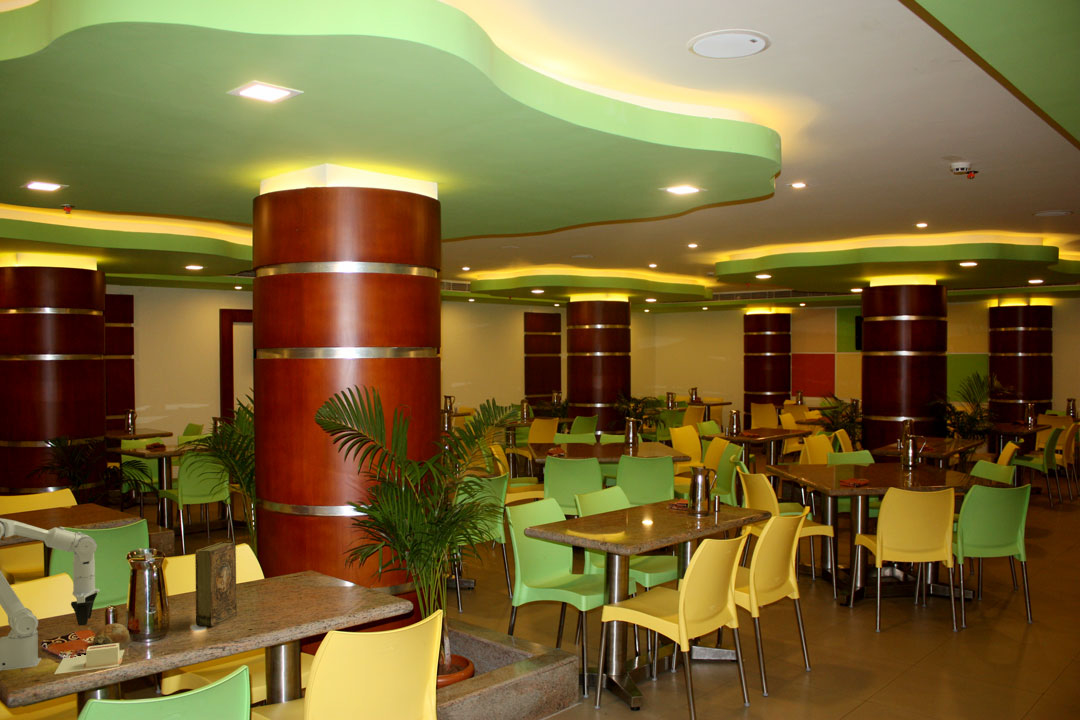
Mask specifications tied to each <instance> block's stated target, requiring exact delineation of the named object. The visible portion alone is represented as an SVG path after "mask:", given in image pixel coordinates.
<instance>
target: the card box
mask: <svg viewBox="0 0 1080 720" xmlns="http://www.w3.org/2000/svg"><path fill="white" fill-rule="evenodd" d="M119 650H120V645H119V643H114V644H106V645H98V646H95V645H91V646H88V647H87V649H86V650H85V654H86V667H93V666H101V665H109V664H116V663H118V662H119Z"/></svg>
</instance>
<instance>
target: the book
mask: <svg viewBox="0 0 1080 720" xmlns="http://www.w3.org/2000/svg"><path fill="white" fill-rule="evenodd" d="M236 546H237V542H236V541H229V540H228V541H220V542H216V543H214V544H211V545H209V546H205V547H203V548H199V549H196V551H195V554H194V555H195V556H194V559H195V562H194V563H195V570H194V571H195V624H196V627H211V628H213V627H216V626H218V625H221V624H222V623H224V622H227V621H228V620H230V619H232V618H234V617H236V616H237V615H238V614H237V613H238V612H237V611H238V610H237V608H238V607H237V562H236V561H237V549H236V548H237V547H236Z"/></svg>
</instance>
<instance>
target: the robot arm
mask: <svg viewBox="0 0 1080 720" xmlns="http://www.w3.org/2000/svg"><path fill="white" fill-rule="evenodd" d="M2 536H3V537H4V538H10V537H13V536H20V537H25V538H30V539H32V540H33V539H34V540H38V541H43V542H44V544H45V546H46V547H47V548H52V549H55V550H60V551H64V552H68V553H71V552H73V561H72V563H73V564H72V565H73V566H72V575H73V577H72V578H73V579H72V580H73V581H72V583H73V585H72V586H73V591H72V596H74V598H75V599H76V601H71V602H70V605H71V608H72V609H73V611H74V614H75V617H76V622H77V625H78V627H81V626H87V625H88V621H89V619H91V617H92V613H93V607H94V602H95V599H96V598H97V595H98V593H99V592H100V588H96V564H95V563H96V561H95V552H96V550H97V548H98V545H97V542H96V540H95V539H94V538H93V537H91V536H90V535H87V534H85V533H82V532H81V531H77V532H74V531H71V530H67V529H66V527H63V526H58V527H52V528H51V529H48V530H47V529H44V528H42V527H41V528H40V527H37V526H34V525H31V524H27V523H24V522H22V521H21V522H20V521H18V520H14V519H13V520H12V519H7V518H1V517H0V539H1V538H2ZM0 606H1V607H2V609H3V610H4V612H5V614H6V616H7V623H8V626H9V627H10V628H11V629H10V631H9V633H8V635H5V636H1V637H0V671H8V670H9V671H10V670H16V669H24V668H32V667H37V666H38V665H39V663H40V662H41V660H42V657H39V648H38V647H39V639H38V636H39V632H38V629H37V628H38V625H39V620H38V618H37V616H36V615H35V614H34V613H33V612H32V610H31V609H30V608H27V607H25V606H24V604H23V602H22V601H21V600H20V597H18V595H17V594H16V592H15V591H14V589H13V588H12V587H11V585H10V584H9V581H7V579H6V577H5V575H4V574H3V573H2V571H1V570H0Z"/></svg>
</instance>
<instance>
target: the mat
mask: <svg viewBox="0 0 1080 720" xmlns="http://www.w3.org/2000/svg"><path fill="white" fill-rule="evenodd" d="M124 653H125V649H119V662H118V663H116V664H109V665H101V666H93V667H86V655H84V654H80V655H81V656H76V655H75V656H76V657H73V658H64V657H63V658H62V660H61V662H60V663H59V664H58V667H57V668H56V670H55V672H54V675H59V674H64V673H65V674H67V673H75V672H82V671H90V670H97V669H98V670H99V669H107V668H117V667H119V666H120V665H121V664H122V661H123V659H124V658H123V656H124Z"/></svg>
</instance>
